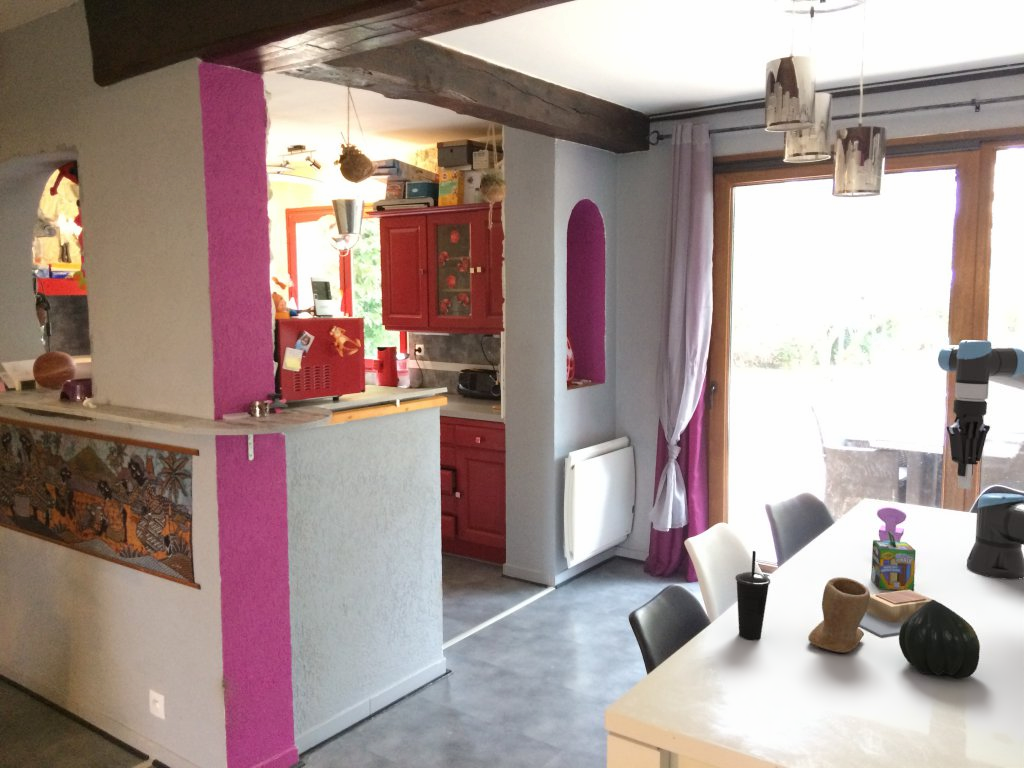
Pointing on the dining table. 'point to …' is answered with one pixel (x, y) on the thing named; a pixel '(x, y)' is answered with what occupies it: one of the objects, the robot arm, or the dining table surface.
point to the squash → (939, 641)
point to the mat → (880, 625)
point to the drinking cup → (751, 602)
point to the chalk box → (893, 564)
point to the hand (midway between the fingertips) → (963, 488)
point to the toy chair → (891, 523)
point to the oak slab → (896, 605)
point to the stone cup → (841, 615)
